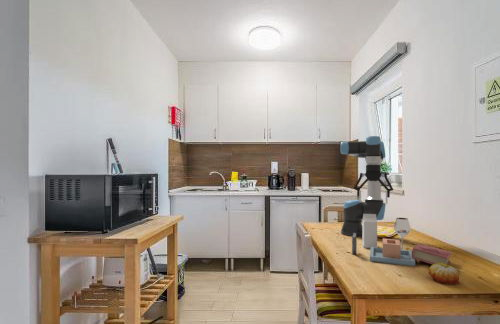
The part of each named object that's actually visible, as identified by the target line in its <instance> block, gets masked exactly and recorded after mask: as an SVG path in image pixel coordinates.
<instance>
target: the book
mask: <svg viewBox="0 0 500 324" xmlns="http://www.w3.org/2000/svg"><path fill="white" fill-rule="evenodd" d="M411 251H412V254H411V255H412V258H413V259H415V261H416V260H417V261H420V262H424V263H427V264H430V265H433V264H436V263H443V264H446V265H449V266H450V264H451V260H450V257H451V255H452V253H453V252H452V251H450V250H449V251H448V250H445V249H441V248H437V247H434V246H430V245H426V244H423V243H418V244H416V246H413V248H412V250H411Z"/></svg>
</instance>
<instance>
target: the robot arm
mask: <svg viewBox="0 0 500 324" xmlns="http://www.w3.org/2000/svg"><path fill="white" fill-rule="evenodd" d="M385 147H386V146H385V143H384V142H383V141H382V140H381V137H380V136H379V135H378V136H377V135H370V136H367V137H366V138H365V140H364V141H361V140H360V141H342V142H340V149H339V150H340V154H341V155H349V156H351V157H354V158H362V159H365V160H364V161H365V164H366V165H365V172H364V173H363V172H360V173H359V177H358V179H357V181H356V183H355V185H354V187H353V189H354V190H355V191H356V196H357V197H358V199H349V200H345V201H344V203H343V223H342V226H341V230H340V231H341V232H340V234H341V235H344V236H350V237H352V236H353V233H356V236H357V237H362V219H363V214H376V218H377V221H382V220H384V218H385V213H386V205H387V204H388V198H390V197H391V196H390V194H391V193H390V192H391V191H394V188H393V186H392V183H391V182H390V180H389V179H388V174H387V172H386V173H382V162H383V161H384V159H385V158H386V149H385ZM364 176H365V178H366V179H365V180H363V182H362V183H361V184H360V185H359V183H360V182H361V180H362V178H363V177H364ZM382 178H384V180H385V182H386V183H387V185H388V186H387V185H386V184H385V183H384V182H383V180H382ZM366 183H367V185H366ZM364 185H366V186H367V187H366V188H367V192H366V193H367V196H366V198H365V199H364V201H362V188H363V187H364ZM382 186H383V188H384V189H385V190H386V191H385V202H384V199H383V198H382Z"/></svg>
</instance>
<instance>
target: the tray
mask: <svg viewBox="0 0 500 324" xmlns="http://www.w3.org/2000/svg"><path fill="white" fill-rule="evenodd" d="M411 254H412V250H407V249H403V250H401V259H397V258H387V257H383V247H378V246H377V247H371V248H370V251H369V262H371V261H372V262H373V263H381V264H390V265H398V266H400V265H401V266H407V267H408V266H409V267H416V259H413V258H412V255H411Z"/></svg>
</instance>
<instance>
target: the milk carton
mask: <svg viewBox="0 0 500 324" xmlns="http://www.w3.org/2000/svg"><path fill="white" fill-rule="evenodd" d="M361 223H362V236H361V238H362V241H361V244H362V247H363V248H366V249H371V247H378V220H377V218H376V214H363V219H361Z"/></svg>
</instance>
